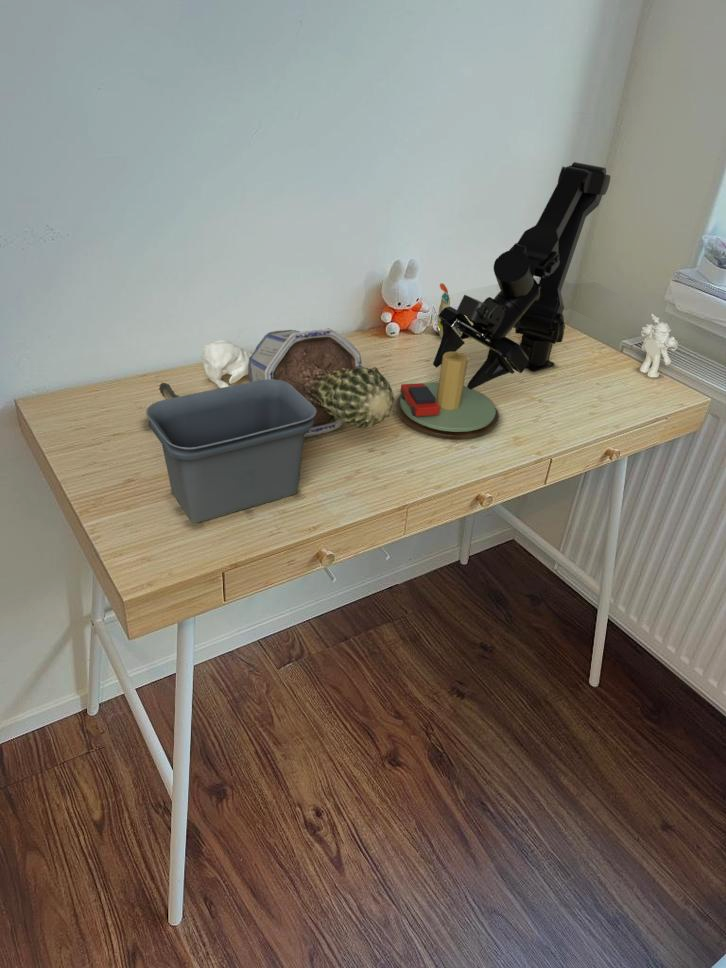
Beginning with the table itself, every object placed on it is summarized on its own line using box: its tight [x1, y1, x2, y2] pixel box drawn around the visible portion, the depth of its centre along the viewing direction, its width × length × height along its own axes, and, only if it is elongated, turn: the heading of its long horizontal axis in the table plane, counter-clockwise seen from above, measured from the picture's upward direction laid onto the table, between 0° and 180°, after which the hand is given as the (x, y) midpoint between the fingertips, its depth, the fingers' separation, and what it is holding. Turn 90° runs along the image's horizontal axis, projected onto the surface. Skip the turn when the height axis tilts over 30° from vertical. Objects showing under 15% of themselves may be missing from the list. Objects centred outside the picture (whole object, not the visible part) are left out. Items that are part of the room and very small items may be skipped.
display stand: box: [395, 394, 500, 441], centre depth 138 cm, size 18×18×1 cm
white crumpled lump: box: [200, 339, 253, 389], centre depth 139 cm, size 6×8×12 cm
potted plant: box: [248, 327, 396, 438], centre depth 123 cm, size 18×18×30 cm
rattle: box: [436, 282, 451, 339], centre depth 163 cm, size 8×8×12 cm
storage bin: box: [145, 379, 316, 523], centre depth 109 cm, size 21×16×14 cm
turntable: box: [399, 351, 497, 432], centre depth 134 cm, size 17×17×10 cm
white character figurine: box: [639, 313, 679, 378], centre depth 155 cm, size 9×4×12 cm, turn 24°
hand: (451, 376), depth 134 cm, fingers open, 9 cm apart
